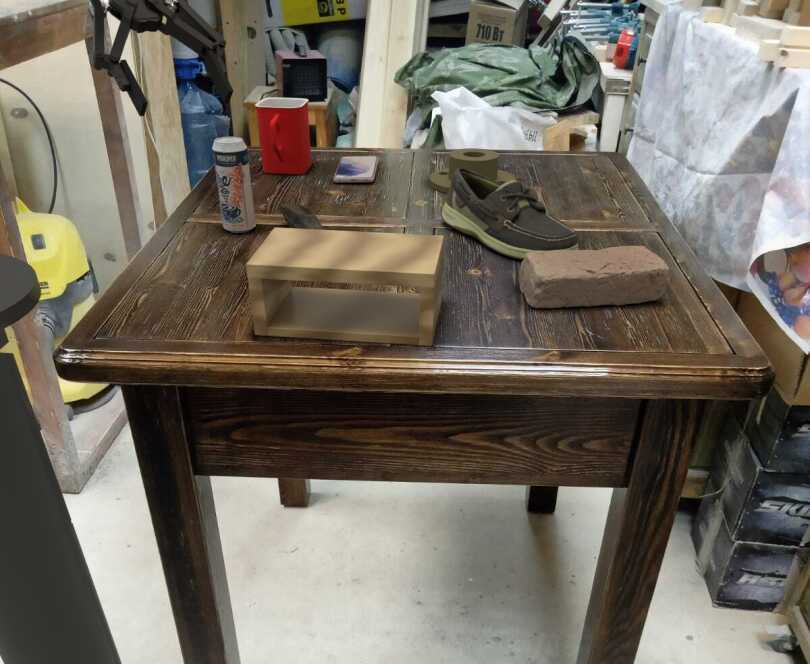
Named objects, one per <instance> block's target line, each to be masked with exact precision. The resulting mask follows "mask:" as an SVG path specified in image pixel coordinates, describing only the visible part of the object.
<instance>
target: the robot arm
mask: <svg viewBox="0 0 810 664" xmlns="http://www.w3.org/2000/svg"><path fill="white" fill-rule="evenodd" d="M87 11H88V14H89V16H90V19H91V22H92V68H93V69H94V70H96V71H102V69H103V70H106V74H107V76H108V77H110V78H113V79H114V81H115V83H116V85H117V87H118V89H119V90H120V91H121V92H122V93H127V95H128V97H129V99H130V100H131V103H132V105H133V107H134V108H135V110H136V113H137V114H138V117H145V116H146V112H147V108H148V105H149V102H148V100H147V98H146V95H145V93H144V92H143V90H142V88H141V85H140V84H139V82H138V81H137V79H136V76H135V74H134V73H133V71H132V69H131V67H130V65H129V63H128V61H127V59H122V55H123V53H124V49H125V46H126V42H127V40H128V38H129V34H130V32H131V31H133V32H136V34H143V33H145V32H148V33H149V32H150V33H157V32H158V31H159V32H160V33H162V34H163V35H164V36H171V37H172V38H174V39H175V40H176V41H178V42H179V43H181V44H182V45H183V46H185V47H187V48H188V49H190V50H191V51H193V52H194V53H196V55H199V56H200V57H202V59H204V63H203V66H204V67H205V69H206V72H207V73H208V75H209V77H210V79H211V81H212V83H213V85H214V87H215V89H216V90H217V93H218V95H219V96H220V99H221V101H222V102H223V104H224V105H228V104H230V101H231V98H232V96H233V93H234V89H233V87H232V85H231V83H230V81H229V79H228V77H227V74H228V69H227V67H226V65H225V63H224V61H223V59H222V57H223V54H224V52H225V48H226V45H227V40H226V39H225V38H224V37H223V36H222V35H221V34H220V33H219V32H218V31H217V30H215V28H214V27H212V26H211V25H210V24H209V23H208V22H207V21H206V20H205V19H204V18H203V17H202V16H201V15H200V14H199V13H198V12H197V11H196V10H195V9H194V8H193V7H192V6H190V4H189V3H188V2H187V1H186V0H89V3H88V9H87ZM108 13H109V14H110V15H111V16H112V17H114V18H115V19H117V20H118V21H119V25H118V28H117V32H116V34H115V37H114V39H113V43H112V46H111V49H110V52H109V53H105V19H106V18H107V15H108ZM164 18H165V19H166V20H165V23H164V22H163V20H164Z"/></svg>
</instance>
